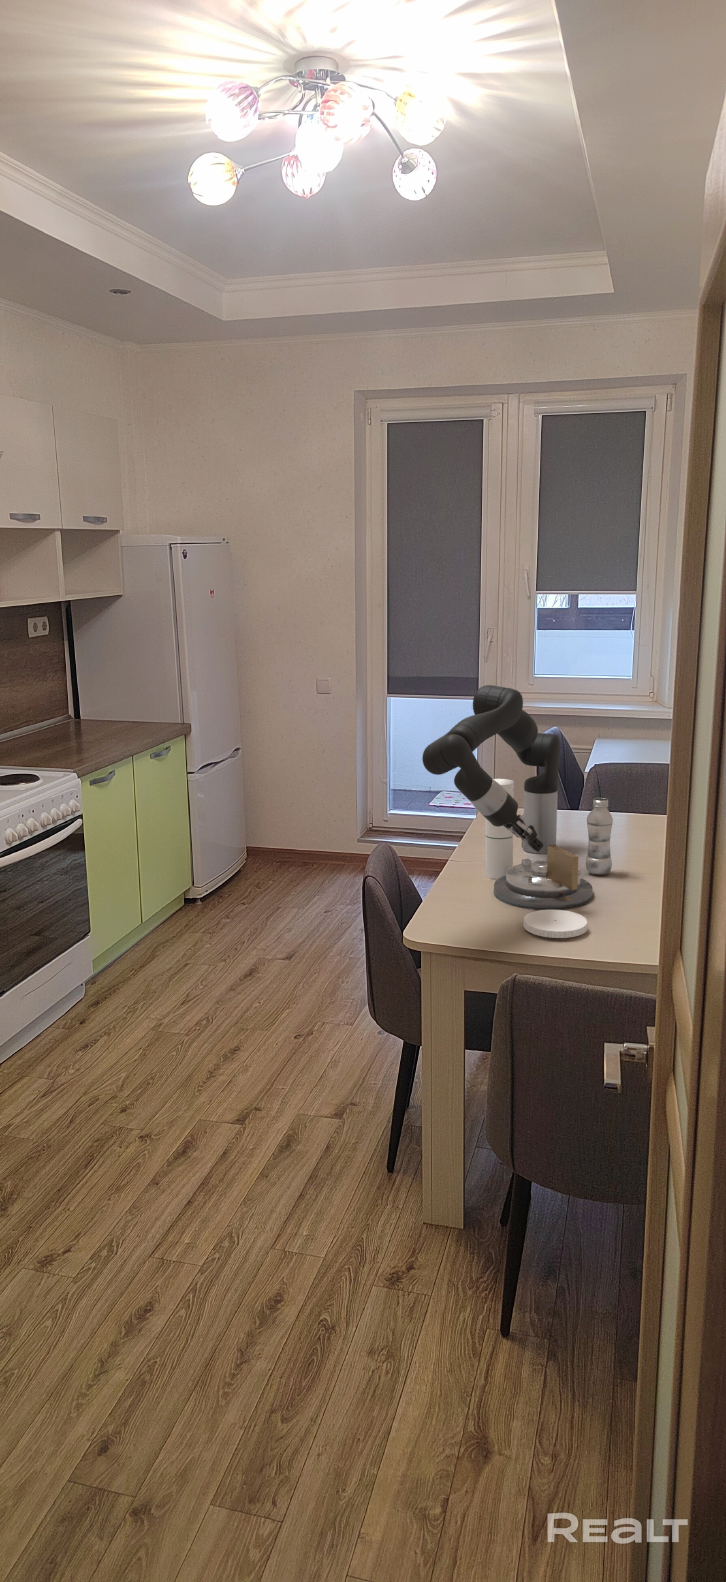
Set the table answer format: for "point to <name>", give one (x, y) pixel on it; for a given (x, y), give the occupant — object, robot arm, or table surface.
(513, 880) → the round mechanism with board
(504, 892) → the base plate
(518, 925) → the table surface
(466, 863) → the table surface
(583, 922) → the plastic lid
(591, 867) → the plastic bottle
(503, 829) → the cylindrical container
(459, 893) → the table surface
